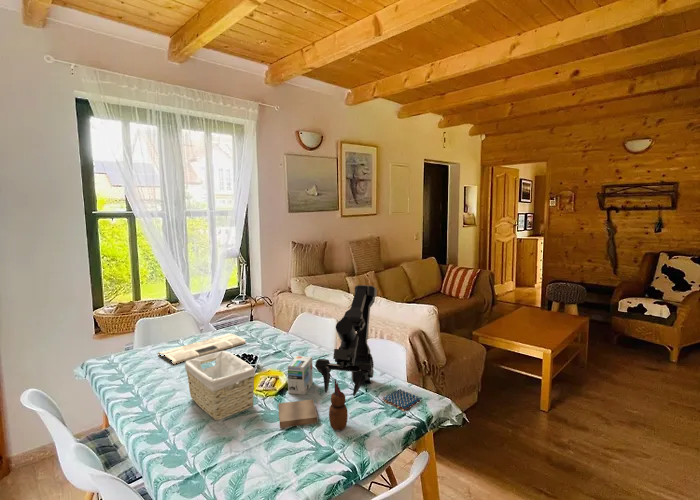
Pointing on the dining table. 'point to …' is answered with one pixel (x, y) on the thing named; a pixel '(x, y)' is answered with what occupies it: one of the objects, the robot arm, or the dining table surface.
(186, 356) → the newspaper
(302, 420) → the light brown wooden stand
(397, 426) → the dining table surface
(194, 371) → the storage basket
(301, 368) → the light bulb box
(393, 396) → the woven mat
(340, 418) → the wooden figurine
